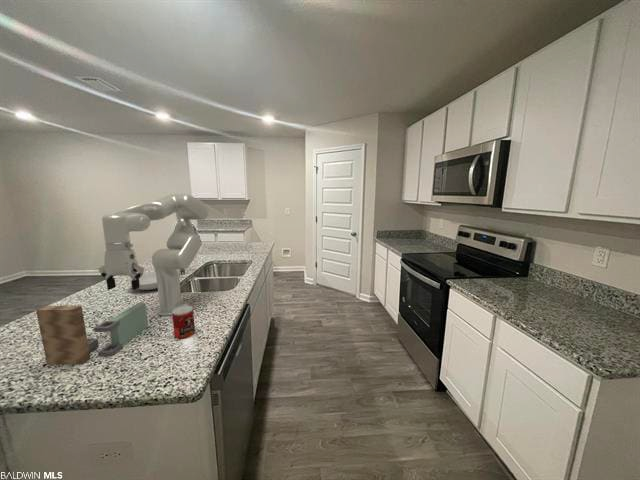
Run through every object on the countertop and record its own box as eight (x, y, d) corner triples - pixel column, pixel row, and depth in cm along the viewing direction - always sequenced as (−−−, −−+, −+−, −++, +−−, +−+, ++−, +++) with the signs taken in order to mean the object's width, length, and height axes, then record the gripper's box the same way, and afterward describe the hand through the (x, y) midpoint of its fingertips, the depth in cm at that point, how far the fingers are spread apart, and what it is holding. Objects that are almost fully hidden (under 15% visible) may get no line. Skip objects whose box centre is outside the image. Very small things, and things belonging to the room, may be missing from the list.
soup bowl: (150, 280, 169) (149, 271, 168) (182, 282, 166) (182, 272, 165) (117, 293, 146) (116, 283, 145) (154, 296, 143) (153, 285, 142)
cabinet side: (106, 346, 95) (99, 297, 91) (82, 364, 85) (73, 309, 82) (74, 347, 95) (66, 297, 91) (47, 364, 85) (35, 309, 81)
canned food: (181, 341, 99) (178, 315, 97) (170, 335, 103) (167, 310, 101) (199, 332, 105) (197, 308, 104) (188, 327, 110) (186, 303, 108)
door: (150, 326, 110) (147, 302, 108) (112, 356, 90) (108, 327, 88) (139, 326, 110) (136, 302, 108) (98, 356, 90) (93, 327, 88)
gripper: (147, 245, 100) (151, 285, 103) (104, 244, 100) (110, 285, 103) (133, 248, 92) (138, 292, 95) (87, 248, 92) (93, 292, 95)
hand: (123, 288), depth 99 cm, fingers open, 9 cm apart
